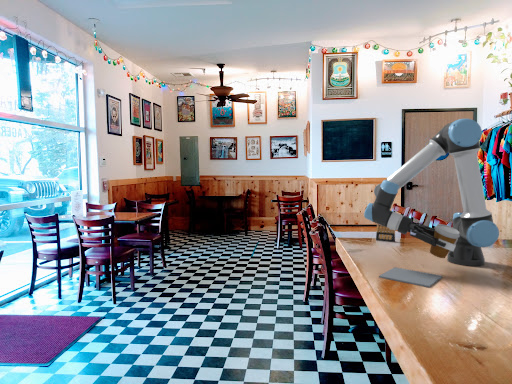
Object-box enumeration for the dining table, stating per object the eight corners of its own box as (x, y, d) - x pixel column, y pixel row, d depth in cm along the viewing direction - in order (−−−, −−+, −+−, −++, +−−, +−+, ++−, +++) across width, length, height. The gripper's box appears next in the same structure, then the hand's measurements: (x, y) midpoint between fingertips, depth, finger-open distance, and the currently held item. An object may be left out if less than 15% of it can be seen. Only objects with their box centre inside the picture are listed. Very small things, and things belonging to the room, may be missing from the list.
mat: (394, 268, 161) (394, 267, 161) (442, 277, 148) (442, 275, 148) (378, 277, 148) (378, 275, 148) (429, 287, 135) (429, 285, 135)
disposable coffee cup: (444, 252, 159) (455, 227, 155) (452, 262, 150) (464, 236, 146) (422, 246, 160) (433, 221, 156) (429, 256, 151) (440, 230, 147)
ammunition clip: (395, 241, 218) (395, 221, 218) (394, 242, 217) (395, 221, 216) (376, 239, 223) (376, 220, 223) (375, 240, 222) (376, 220, 221)
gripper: (402, 225, 171) (454, 245, 161) (391, 237, 154) (449, 261, 143) (407, 210, 169) (461, 230, 158) (397, 221, 151) (457, 244, 141)
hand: (455, 245), depth 151 cm, fingers closed on disposable coffee cup, 8 cm apart
